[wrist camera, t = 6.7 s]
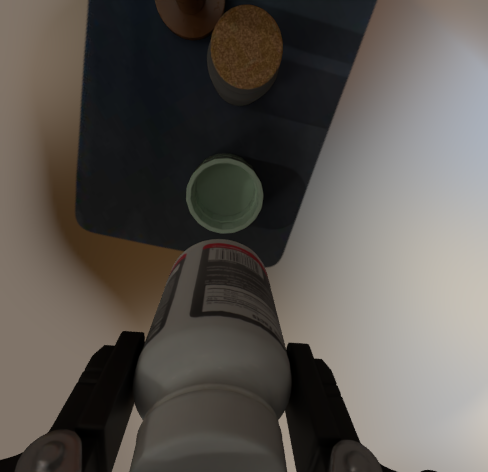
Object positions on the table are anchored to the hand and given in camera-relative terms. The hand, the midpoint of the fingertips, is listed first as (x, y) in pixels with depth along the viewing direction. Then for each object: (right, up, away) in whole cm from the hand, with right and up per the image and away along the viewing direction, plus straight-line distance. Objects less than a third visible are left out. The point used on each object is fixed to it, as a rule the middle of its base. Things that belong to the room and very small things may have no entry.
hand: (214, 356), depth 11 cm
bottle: (+1, +22, +22) cm, 31 cm away
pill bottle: (0, +2, +5) cm, 6 cm away
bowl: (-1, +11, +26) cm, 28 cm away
